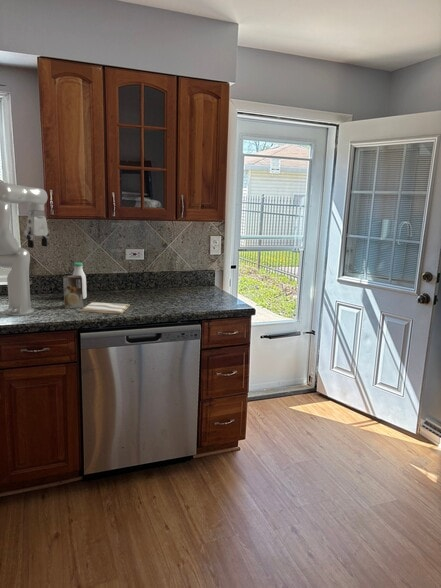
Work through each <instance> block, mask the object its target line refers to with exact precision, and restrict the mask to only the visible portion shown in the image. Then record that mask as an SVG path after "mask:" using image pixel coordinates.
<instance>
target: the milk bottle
mask: <svg viewBox="0 0 441 588" xmlns="http://www.w3.org/2000/svg"><path fill="white" fill-rule="evenodd" d="M83 267H84V264H83V263H82V262H73V268H74V270H73V273H72V275H71V276H77V275H81V277H82V291H83V300H85V299H87V278H86V277H87V275H86V273H85V272H84V270H83Z"/></svg>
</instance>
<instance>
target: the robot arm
mask: <svg viewBox="0 0 441 588" xmlns="http://www.w3.org/2000/svg"><path fill="white" fill-rule="evenodd" d="M48 198H49V197H48V193H47V191H46V190H45V189H43V188H38V187H32V186H26V185H19V184H14V183H13V184H12V183H8V182H5V181H4V182H2V181H0V268H10V269H11V270H10V271H9V273H8V274H7V276H6V283H7V296H8V308H7V309H5V311H4V313H5V314H6V315H7V316H17V317H18V316H21V317H22V316H27V315H31V314H33V313H35V308H33V307H31V306H32V305H31V290H30V288H31V287H30V286H31V285H30V262H31V255H30V252H29V250H27V249H26V248H23V247H20V246H19V243H18V241H17V239H16V237H15V236H14V234H13V233H12V232H11V230H10V217H11V209H10V205H9V204H16V205H17V204H20V205H21V204H22V205H23V204H24V205H25V204H26V205H27V209H28V210H27V211H28V212H27V215H28V216H27V224H26V225H27V226H26V229H25V230H23V235H24V237H25V238H26V241H27V248H29V249H33V248H34V238H35V237H41V247H48V239H49V236H50V232H51V230H50V229H49V228H48V223H47V218H46V216H45V204H46V203H47V201H48Z"/></svg>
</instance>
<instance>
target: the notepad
mask: <svg viewBox="0 0 441 588" xmlns="http://www.w3.org/2000/svg"><path fill="white" fill-rule="evenodd" d="M129 307H131V304H128V303H126V304H125V303H117V302H116V303H113V302H98V301H97V302H96V301H91V302H90V303H88V304H87V305H86V306H83V307H82V308H81V309H80V310H79V312H81V313H95V314H97V313H98V314H112V315H122V314H123V313H124V312H125V311H126V310H127V309H128V308H129Z"/></svg>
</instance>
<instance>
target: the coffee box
mask: <svg viewBox="0 0 441 588" xmlns="http://www.w3.org/2000/svg"><path fill="white" fill-rule="evenodd" d="M62 281H63V282H62V284H63V300H64V309H78V308H81V309H83V308H84V299H83V291H82V277H81V275H77V276H72V275H63V276H62Z"/></svg>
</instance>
